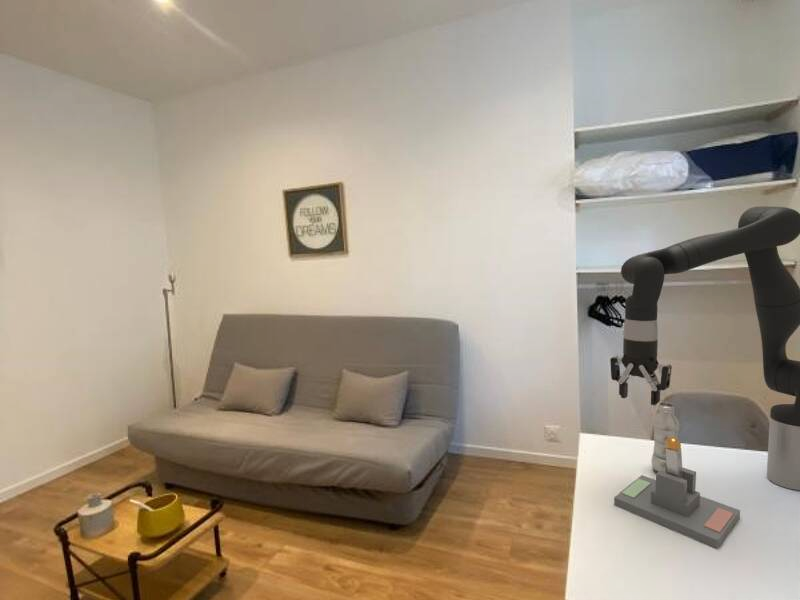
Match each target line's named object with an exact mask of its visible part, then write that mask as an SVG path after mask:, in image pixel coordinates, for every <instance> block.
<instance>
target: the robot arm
mask: <svg viewBox="0 0 800 600" xmlns="http://www.w3.org/2000/svg"><path fill="white" fill-rule="evenodd" d="M799 236H800V212H799V211H797V210H796V209H793V208H790V207H786V206H764V205H763V206H752V207H749V208H748V209H747V210H745V211H744V212H743V213H742V214H741V215H740V218H739V220H738V224H737V228H734V229H729V230H726V231H720V232H717V233H711V234H705V235H700V236H695V237H693V238H688V239H686V240H683V241H680V242H678V243H674V244H672V245H670V246H667V247H664V248H661V249H657V250H652V251H648V252H644V253H641V254H638V255H634V256H632V257H630V258H628V259H627V260H625V262H623V264H622V266H621V269H620V273H621V277H622V278H623V280H624V281H625V282H628V284H629V283H630V284H632V285H633V287H632V294H631V295H629V296H628V297H627V298H626V299H625V303H624V304H625V305H624V306H625V307H624V322H623V323H624V324H623V332H622V335H623V341H622V342H623V343H622V344H623V345H622V351H623V352H622V353H623V356H622V357H619V356H617V355H614V356H612V357H610V360H609V363H610V375H611V376H610V377H611V380H612V381H615V382H617V383H618V395H619V396H620V398H621V399H626V398H628V396H629V395H628V392H629V383H628V380H629V379H630V377H632V376H633V377H638V378H642V379H644V380H645V381H646V382H647V383H648V384H649V387H650V389H651V391H650V405H651V406H656V405H657V404H659V403H660V402H661V391H665V390H668V389H669V388H670V383H671V375H672V365H671V364H662V363H661V364H660V363H659V361H658V344H659V340H658V339H659V326H658V301H659V299H660V297H661V293H662V290H663V286H664V283H665V276H666V275H675V274H682V273H684V272H687V271H690V270H692V269H696V268H698V267H702V266H705V265H708V264H710V263H713V262H716V261H720V260H723V259H727V258H729V257H734V256H737V255H738V256H739V255H742V254H744V256H745V260H746V264H747V266H748V272H749V276H750V277H749V278H750V282H751V287H752V293H753V300H754V305H755V306H754V307H755V312H756V316H757V321H758V326H759V331H760V332H759V333H760V338H761V339H760V340H761V347H762V349H761V350H762V367H763V368H762V369H763V371H762V372H763V378H764V382H765V385H766V386H767V387H768V389H770V390H771V391H774V392H776V393H780V394H785V395H788V396H792V397H795V399H794V400H795V401H794V403H782V404H781V403H780V404H775V405H773V406H771V407H770V411H769V413H770V416H769V429H768V430H769V431H768V445H767V446H768V447H767V448H768V449H767V450H768V451H767V461H766V464H767V465H766V478H767V480H769V481H770V482H772V483H773V484H775V485H777V486H780V487H783V488H786V489H790V490H795V491H800V360H794V359H790V358H788V356H787V352H786V351H787V350H786V347H787V343H788V341H789V339H790V338H791V336H792V335H793V334H794V333H795V332H796V331H797V330H798V328H799V327H800V285H799V284H798V282H797V281H796V280H795V278H794V277H793V275H792V274H791V273H790V271H789V270H788V269H787V267H786V266H785V264H784V263H783V261H782V260H781V257H780V255H779V252H778V247H781V246H786V245H787V244H790V243H791V242H793V241H795V240H796V239H797V238H798V237H799ZM621 365H623V366H624V370H623V373H622V374H621V367H620V366H621ZM657 369H658V373H660V374H661V376H660V377H661V378H660V381H659V379H658V376H657V374H656V372H655V371H657Z"/></svg>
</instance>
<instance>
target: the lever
mask: <svg viewBox="0 0 800 600" xmlns="http://www.w3.org/2000/svg"><path fill="white" fill-rule="evenodd" d="M665 445H666V447H667V448H666V463H667V474H670V475H673V476H676V477H679V478H682V479H683V469H682V467H683V459H682V458H683V455H682V445H681V441H680V440H679V439H678V438H677V439H676V438H674V437H670V438H668V439H667V440H666V442H665Z"/></svg>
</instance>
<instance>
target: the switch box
mask: <svg viewBox="0 0 800 600" xmlns="http://www.w3.org/2000/svg"><path fill="white" fill-rule="evenodd" d="M682 469H683V479H682V478H679V477H676V476H673V475H670V474H667V465H666V471H665V473H664V472H661V471H659V472H656V473H655V479H653V478H651V477H648V476H645V475H643V474H641V475H640V476H638V477H637V478H636V479H635V480H634V481H633V482H631V483H630V484H629V485H628V486H626V487H625V488H624V489H622V491H620V492H619V493H618V494H616V496H614V498H613V505H614V506H616V507H618V508H621V509H622V510H625V511H627V512H629V513H632V514H634V515H637V516H639V517H641V518H644V519H645V520H648V521H651V522H653V523H656V524H658V525H660V526H662V527H665V528H668V529H670V530H672V531H674V532H676V533H679V534H681V535H683V536H686V537H688V538H690V539H693V540H696V541H698V542H700V543H702V544H705V545H707V546H709V547H712V548H714V549H716V550H718V549H719V548H720V547H721V545H722V544H723V542H724V541H725V539H726V538H727V536H728V535H729V534H730V532H732V530H733V529H734V527H735V525H736V524H737V523H738V522H739V520H740V518H741V517H740V516H741V510H740V509H738V508H735V507H732V506H729V505H726V504H724V503H721V502H718V501H715V500H712V499H710V498H706V497H705V496H702V495H701V492H699V491H696V487H697V486H696V483H697V477H696V476H697V471H696V470H692V469H689V468H687V467H686V468H685V467H683V466H682Z"/></svg>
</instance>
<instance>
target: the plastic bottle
mask: <svg viewBox="0 0 800 600" xmlns="http://www.w3.org/2000/svg"><path fill="white" fill-rule="evenodd" d="M674 406H675V405H674V404H672V403H670V402H659V403H658V413H657V414H655V416H654V417H653V420H652V426H653V427H652V428H653V432H654V433H653V434H654V436H653V438H654V440H653V441H654V446H653V451H652V452H653V453H652V455H651V467H652V468H653V470H654V471H656V473H658V472H659V471H661V472H664V473H665V471H666V465H667V463H666V448H667V447H666V445H665V442H666V440H667V439H668V438H670V437H674V438H676V439H678V432H679V429H680V423H679V420H678V419H677V418H676V416H675V415H674V414H675V410H674V409H675V407H674Z"/></svg>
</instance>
